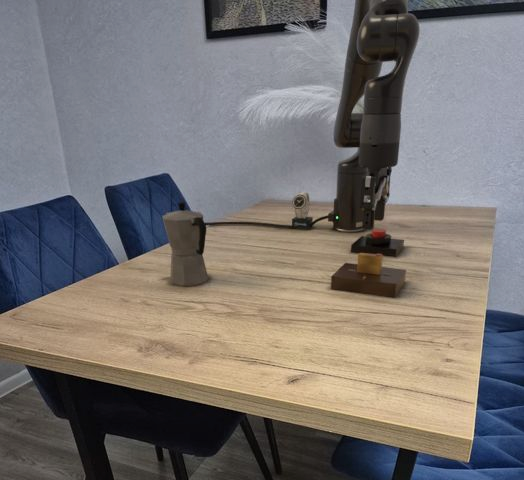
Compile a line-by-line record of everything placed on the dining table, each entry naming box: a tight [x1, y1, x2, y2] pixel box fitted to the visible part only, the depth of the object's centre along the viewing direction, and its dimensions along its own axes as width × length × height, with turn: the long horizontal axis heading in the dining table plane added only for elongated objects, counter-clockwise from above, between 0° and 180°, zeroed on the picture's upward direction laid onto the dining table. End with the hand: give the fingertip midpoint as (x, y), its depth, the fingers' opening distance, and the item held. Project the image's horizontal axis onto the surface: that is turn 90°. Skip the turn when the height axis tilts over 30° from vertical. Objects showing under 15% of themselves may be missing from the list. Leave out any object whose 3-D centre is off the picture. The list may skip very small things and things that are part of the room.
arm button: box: [371, 228, 387, 238], centre depth 127 cm, size 4×4×2 cm
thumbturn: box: [357, 253, 384, 275], centre depth 102 cm, size 5×2×4 cm, turn 64°
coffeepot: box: [161, 201, 209, 287], centre depth 107 cm, size 15×9×18 cm, turn 39°
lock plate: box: [330, 262, 407, 298], centre depth 104 cm, size 14×10×3 cm
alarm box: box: [350, 232, 405, 258], centre depth 128 cm, size 12×10×4 cm
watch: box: [291, 191, 314, 231], centre depth 151 cm, size 6×8×11 cm
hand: (373, 224), depth 98 cm, fingers open, 8 cm apart
